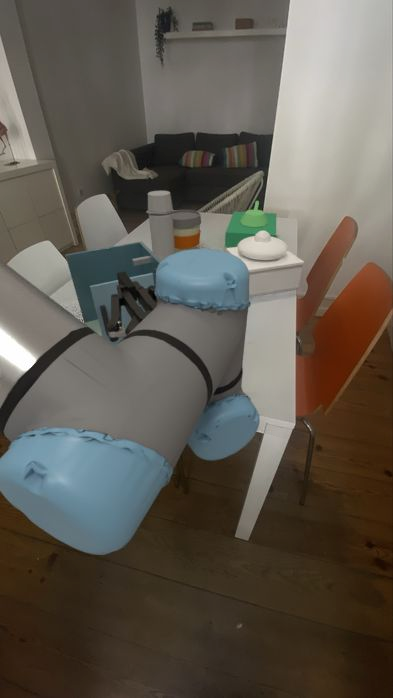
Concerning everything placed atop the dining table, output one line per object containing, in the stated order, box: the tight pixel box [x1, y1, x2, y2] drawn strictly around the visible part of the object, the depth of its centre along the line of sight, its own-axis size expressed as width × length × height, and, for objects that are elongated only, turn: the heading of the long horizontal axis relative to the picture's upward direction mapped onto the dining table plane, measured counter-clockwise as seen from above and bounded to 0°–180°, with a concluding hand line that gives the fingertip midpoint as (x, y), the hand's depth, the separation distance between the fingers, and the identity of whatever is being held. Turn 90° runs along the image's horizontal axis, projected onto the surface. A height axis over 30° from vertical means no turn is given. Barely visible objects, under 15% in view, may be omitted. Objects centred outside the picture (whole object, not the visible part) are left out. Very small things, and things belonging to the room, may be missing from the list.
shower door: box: [90, 273, 154, 346], centre depth 69 cm, size 13×2×16 cm, turn 116°
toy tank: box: [224, 200, 277, 249], centre depth 127 cm, size 18×12×35 cm
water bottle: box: [145, 190, 175, 261], centre depth 100 cm, size 9×8×25 cm
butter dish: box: [224, 231, 305, 298], centre depth 96 cm, size 18×18×16 cm
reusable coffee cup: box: [171, 209, 202, 253], centre depth 114 cm, size 13×13×15 cm
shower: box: [64, 241, 161, 336], centre depth 75 cm, size 18×16×19 cm
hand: (122, 279), depth 58 cm, fingers closed
